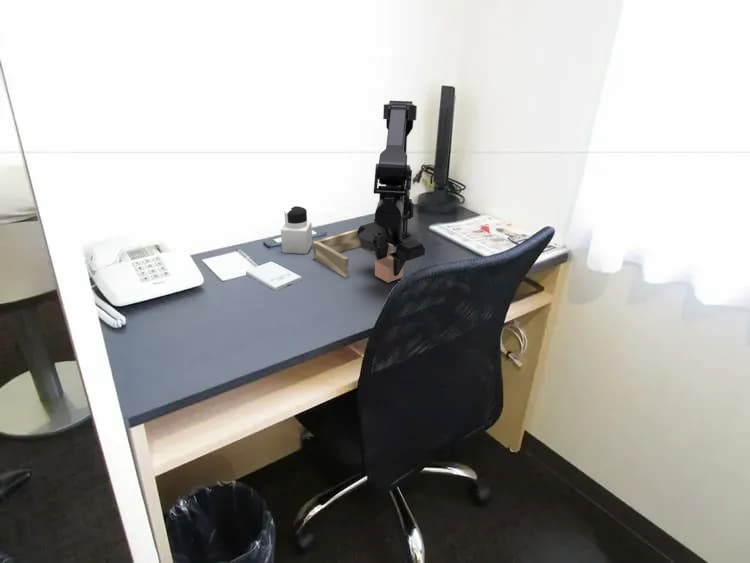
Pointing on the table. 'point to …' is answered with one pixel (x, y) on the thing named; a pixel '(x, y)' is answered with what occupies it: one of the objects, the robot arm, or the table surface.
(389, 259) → the terracotta block
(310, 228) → the medicine bottle
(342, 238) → the open wooden frame
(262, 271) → the external hard drive
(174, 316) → the table surface
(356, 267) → the table surface
